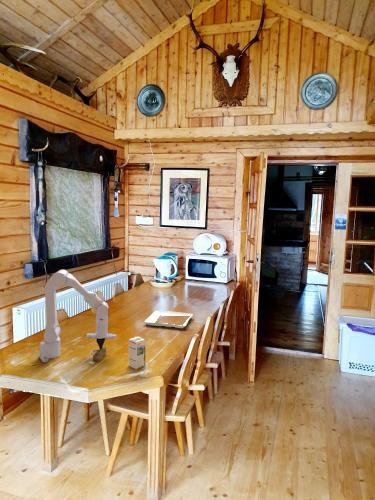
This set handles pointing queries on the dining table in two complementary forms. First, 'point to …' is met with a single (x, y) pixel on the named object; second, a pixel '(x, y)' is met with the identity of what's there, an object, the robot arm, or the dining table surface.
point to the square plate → (156, 314)
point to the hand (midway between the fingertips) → (101, 352)
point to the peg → (99, 354)
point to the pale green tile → (91, 362)
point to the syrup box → (137, 352)
